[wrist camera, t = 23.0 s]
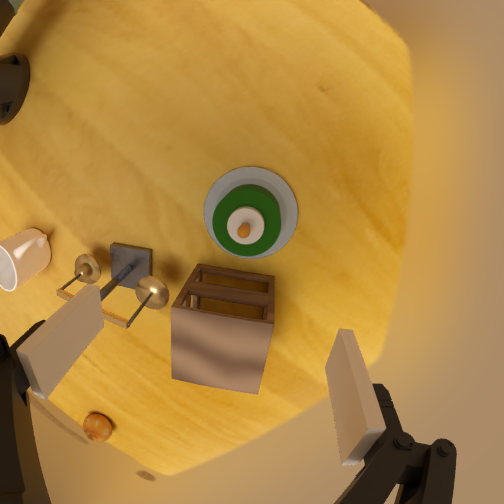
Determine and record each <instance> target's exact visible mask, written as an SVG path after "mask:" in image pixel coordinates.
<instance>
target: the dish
mask: <svg viewBox="0 0 504 504" xmlns="http://www.w3.org/2000/svg"><path fill="white" fill-rule="evenodd" d="M244 184H256V185H259V186H262V187H264V188H266V189H267V190H269V191H270V192H271V193H272V194H273V195H274V196H275V198H276V200H277V201H278V204H279V207H280V214H281V231H280V234H279V237H278V239H277V241H276V242H275V243H274V245H273V246H272V247H271V248H270V249H268V250H267V251H265V252H264V253H262V254H259V255H256V256H249V257H248V256H239V255H236V254H233V253H231V252H229V251H228V250H226V249H225V248H224V247H223V246H222V245H221V244H220V243H219V242H218V240H217V238H216V236H215V234H214V231H213V226H212V218H213V213H214V211H215V208H216V206H217V205H218V203H219V202H220V201H221V200H222V199H223V198H224V197H225V196H226V195H227V194H228V193H229V192H230V191H231V190H232V189H234V188H235V187H237V186H240V185H244ZM297 219H298V208H297V203H296V199H295V196H294V194H293V192H292V190H291V189H290V187H289V185H288V184H287V183H286V182H285V181H284V180H283V179H282V178H281V177H280V176H278V175H277V174H275V173H274V172H272V171H270V170H267V169H264V168H260V167H252V166H251V167H242V168H238V169H234V170H232V171H230V172H228V173H226V174H225V175H223V176H222V177H220V178H219V179H218V180H217V181H216V182H215V183H214V185H213V186H212V187H211V189H210V190H209V192H208V195H207V197H206V200H205V205H204V220H205V224H206V227H207V230H208V232H209V234H210V236H211V237H212V239H213V240H214V242H215V243H216V244H217V245H218V246H219V247H221V248H222V249H223V250H224V251H226V252H228V253H230V254H232V255H234V256H237V257H240V258H246V259H257V258H263V257H266V256H269V255H272V254H274V253H275V252H277V251H279V250H280V249H281V248H282V247H284V246H285V245H286V244H287V242H288V241H289V240H290V238H291V237H292V235H293V233H294V231H295V228H296V225H297Z"/></svg>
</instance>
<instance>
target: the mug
mask: <svg viewBox="0 0 504 504" xmlns="http://www.w3.org/2000/svg"><path fill="white" fill-rule="evenodd" d="M50 259H51V250H50V246H49V243H48V241H47V236H46V234H43V233H42V232H41V231H39V230H38V229H35V228H30V229H27V230H24V231H22V232H20V233H18V234H16V235H14V236H11V237H9V238H7V239H5V240H3V241H1V242H0V286H1V287H2V288H3V289H4V290H6V291H13V290H15V289H16V288H18V287H19V286H20V285H22V284H23V283H25V282H26V281H28V280H29V279H31V278H32V277H33V276H35V275H36V274H38V273H39V272H41V271H42V270H44V269H45V268H46V267H47V266H48V264H49V262H50Z"/></svg>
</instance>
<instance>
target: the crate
mask: <svg viewBox="0 0 504 504" xmlns="http://www.w3.org/2000/svg"><path fill="white" fill-rule="evenodd" d="M201 272H203V273H209V274H215V275H221V276H227V277H233V278H239V279H245V280H252V281H258V282H264V283H268V292H267V293H263V292H256V291H250V290H244V289H238V288H232V287H226V286H220V285H214V284H208V283H203V282H200V275H201ZM191 295H193V308H191V307H190V303H191ZM199 296H200V297H205V298H211V299H216V300H222V301H228V302H234V303H240V304H246V305H252V306H259V307H264V313H263V318H262V320H260V319H254V318H247V317H241V316H235V315H229V314H223V313H218V312H212V311H207V310H201V309H198V301H199ZM273 328H274V276H268V275H262V274H256V273H250V272H243V271H237V270H231V269H225V268H219V267H213V266H207V265H201V264H197V266H196V267H195V269H194V270H193V272H192V274H191V275H190V277H189V278H188V280H187V282H186V283H185V285H184V287H183V288H182V290H181V291H180V293H179V295H178V296H177V298H176V300H175V301H174V303H173V305H172V306H171V366H172V379H176V380H180V381H185V382H189V383H194V384H199V385H204V386H209V387H214V388H220V389H226V390H232V391H238V392H244V393H251V394H258V392H259V388H260V384H261V379H262V375H263V371H264V367H265V363H266V358H267V354H268V350H269V345H270V341H271V337H272V332H273Z"/></svg>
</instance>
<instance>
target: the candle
mask: <svg viewBox="0 0 504 504" xmlns="http://www.w3.org/2000/svg"><path fill="white" fill-rule="evenodd" d="M212 226H213V231H214V234H215V236H216V238H217V240H218V242H219V243H220V244H221V245H222V246H223V247H224V248H225V249H226V250H228V251H229V252H231V253H233V254H236V255H239V256H248V257H249V256H256V255H259V254H262V253H264V252H265V251H267V250H268V249H270V248H271V247H272V246H273V245H274V243H275V242H276V241H277V239H278V237H279V234H280V231H281V214H280V207H279V204H278V201H277V200H276V198H275V196H274V195H273V194H272V193H271V192H270V191H269V190H267V189H266V188H264V187H262V186H259V185H256V184H244V185H240V186H237V187H235V188H234V189H232V190H231V191H230V192H229V193H228V194H227V195H226V196H225V197H224V198H223V199H222V200H221V201H220V202H219V203H218V205H217V206H216V208H215V211H214V213H213V218H212Z"/></svg>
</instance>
